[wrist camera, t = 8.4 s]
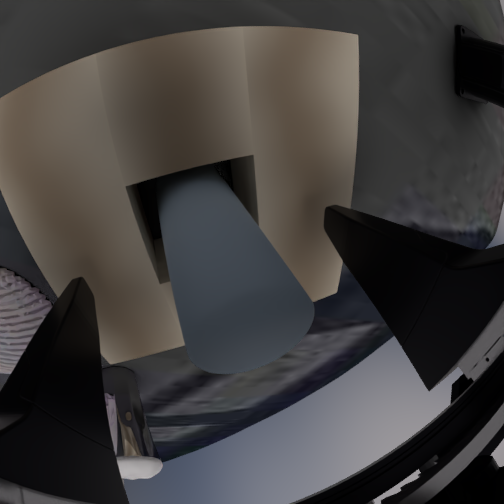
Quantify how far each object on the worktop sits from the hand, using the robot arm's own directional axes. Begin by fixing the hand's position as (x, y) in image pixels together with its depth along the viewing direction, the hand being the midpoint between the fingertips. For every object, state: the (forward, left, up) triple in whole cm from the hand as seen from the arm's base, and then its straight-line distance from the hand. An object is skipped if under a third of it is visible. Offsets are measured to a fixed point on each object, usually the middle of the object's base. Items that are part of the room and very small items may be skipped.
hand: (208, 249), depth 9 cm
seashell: (+15, +5, -6) cm, 17 cm away
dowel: (0, 0, -5) cm, 5 cm away
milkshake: (+10, +14, -5) cm, 18 cm away
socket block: (0, 0, -5) cm, 5 cm away
